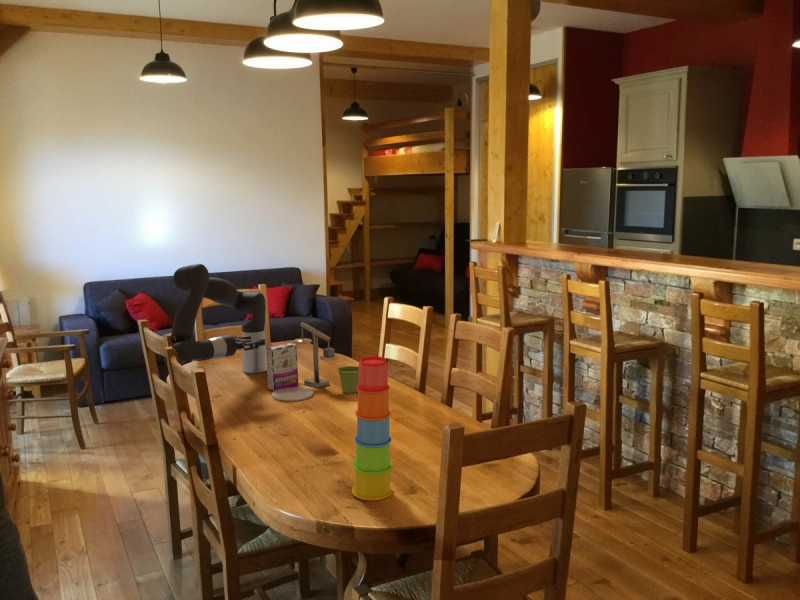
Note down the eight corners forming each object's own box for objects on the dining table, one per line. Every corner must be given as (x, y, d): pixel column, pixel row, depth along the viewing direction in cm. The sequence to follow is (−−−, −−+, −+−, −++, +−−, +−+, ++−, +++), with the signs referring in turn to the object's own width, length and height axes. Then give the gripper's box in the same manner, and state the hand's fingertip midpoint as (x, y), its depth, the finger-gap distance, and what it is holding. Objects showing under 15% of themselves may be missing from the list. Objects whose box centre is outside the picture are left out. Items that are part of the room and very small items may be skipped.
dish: (264, 395, 266) (263, 393, 266) (295, 387, 277) (295, 384, 276) (289, 403, 256) (289, 400, 256) (321, 394, 267) (321, 391, 266)
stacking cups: (394, 484, 185) (392, 353, 180) (391, 501, 175) (388, 363, 170) (354, 483, 186) (351, 353, 181) (349, 501, 176) (345, 363, 170)
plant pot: (364, 388, 274) (364, 365, 272) (361, 395, 265) (360, 372, 263) (340, 387, 275) (339, 365, 273) (335, 394, 265) (335, 372, 264)
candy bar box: (291, 383, 282) (289, 342, 279) (298, 385, 278) (297, 344, 276) (266, 389, 275) (265, 347, 272) (274, 391, 271) (272, 349, 268)
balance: (291, 381, 285) (289, 322, 281) (305, 377, 290) (303, 320, 286) (329, 391, 270) (327, 329, 266) (343, 387, 275) (341, 326, 271)
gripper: (231, 339, 248) (269, 332, 260) (208, 334, 258) (245, 328, 270) (232, 360, 249) (269, 353, 261) (208, 354, 259) (246, 347, 271)
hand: (257, 340), depth 265 cm, fingers open, 8 cm apart
